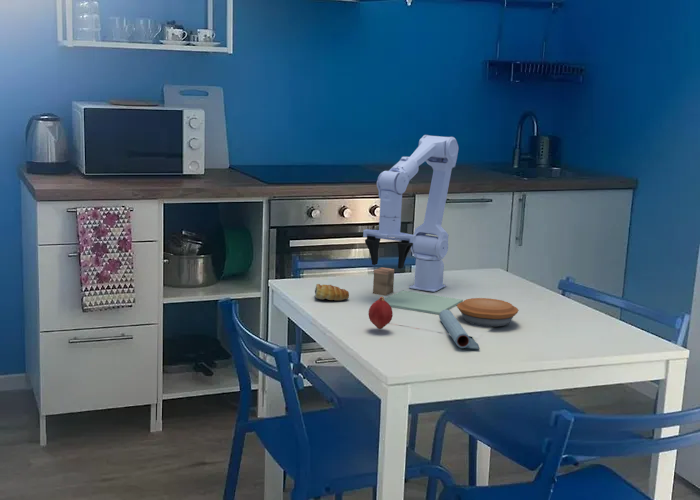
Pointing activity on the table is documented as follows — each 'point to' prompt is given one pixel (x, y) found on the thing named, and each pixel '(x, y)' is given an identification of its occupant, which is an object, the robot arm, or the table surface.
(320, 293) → the pastry
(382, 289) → the walnut block
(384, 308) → the onion
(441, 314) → the aluminum foil
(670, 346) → the table surface
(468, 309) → the pie
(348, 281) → the table surface
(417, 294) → the sage mat
